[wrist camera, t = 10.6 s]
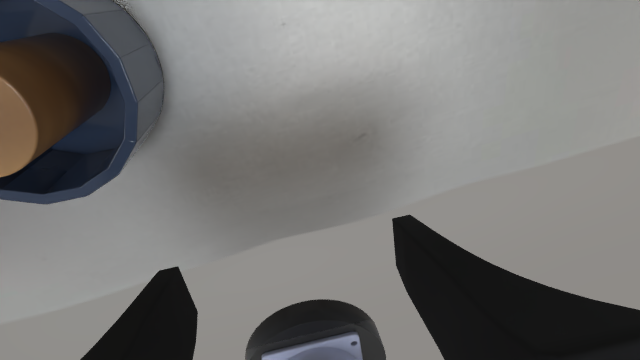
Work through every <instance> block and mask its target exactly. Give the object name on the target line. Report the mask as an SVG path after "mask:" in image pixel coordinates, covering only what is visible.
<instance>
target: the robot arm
mask: <svg viewBox="0 0 640 360" xmlns="http://www.w3.org/2000/svg"><path fill="white" fill-rule="evenodd" d="M392 221H393V233H394V245H395V256H396V266H397V269H398V271H399V274H400V276H401V279H402V281H403V284H404V286H405V288H406V291H407V293H408V295H409V296H410V298H411V300H412V302H413V304H414V305H415V307H416V309H417V311H418V312H419V314H420V316H421V318H422V319H423V321H424V323H425V325H426V327H427V328H428V330H429V332H430V334H431V336H432V337H433V339H434V341H435V343H436V344H437V346H438V348H439V350H440V352H441V354H442V356H443V357H444V359H445V360H640V310H636V309H632V308H627V307H623V306H619V305H614V304H610V303H605V302H601V301H596V300H593V299H589V298H585V297H581V296H578V295H575V294H571V293H568V292H564V291H561V290H558V289H555V288H552V287H548V286H546V285H543V284H540V283H537V282H535V281H532V280H529V279H526V278H524V277H521V276H519V275H516V274H514V273H511V272H509V271H507V270H504V269H502V268H500V267H498V266H495V265H493V264H491V263H489V262H487V261H485V260H483V259H481V258H479V257H477V256H475V255H474V254H472V253H470V252H468V251H466V250H464V249H463V248H461V247H459V246H457V245H456V244H454V243H452V242H451V241H449V240H448V239H446V238H444V237H443V236H441V235H440V234H438V233H436V232H435V231H433V230H432V229H430V228H429V227H427V226H426V225H424V224H423V223H421V222H420V221H418V220H417V219H415V218H414V217H412V216H411V215H406V216H402V217H397V218H393V219H392ZM197 314H198V313H197V309H196V307H195V305H194V302H193V300H192V298H191V295H190V293H189V291H188V288H187V286H186V284H185V281H184V279H183V277H182V274H181V272H180V270H179V267H173V268H169V269H165V270H160V271H159V272H158V273H157V274H156V275H155V276H154V277H153V278H152V279H151V281H150V282H149V283H148V284H147V286H146V287H145V288H144V289H143V291H142V292H141V293H140V294H139V295H138V296H137V298H136V299H135V300H134V301H133V302H132V304H131V305H130V306H129V307H128V308H127V310H126V311H125V312H124V313H123V314H122V315H121V317H120V318H119V319H118V320H117V321H116V322H115V324H113V326H112V327H111V328H110V329H109V330H108V331H107V332H106V333H105V334H104V335H103V337H102V338H101V339H100V340H99V341H98V342H97V343H96V344H95V345H94V346H93V348H91V349H90V350H89V352H88V353H87V354H86V355H85V356H84V357H83V358H82V359H81V360H192V359H193V354H194V349H195V343H196V332H197ZM353 341H354V342H353ZM262 360H363V358H362V352H361V345H360V339H359V335H358V333H357V332H354V331H352V332H348V333H344V334H339V335H335V336H331V337H327V338H323V339H319V340H314V341H310V342H306V343H302V344H298V345H294V346H290V347H285V348H281V349H277V350H273V351H269V352H265V353H264V354H262Z"/></svg>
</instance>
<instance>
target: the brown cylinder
mask: <svg viewBox="0 0 640 360" xmlns="http://www.w3.org/2000/svg"><path fill="white" fill-rule="evenodd" d="M110 89H111V84H110V77H109V74H108V71H107V68H106V66H105V64H104V63H103V61H102V60H101V58H100V57H99V56H98V55H97V54H96V53H95V52H94V51H93V50H92V49H91V48H90V47H89V46H88V45H86V44H85V43H83V42H82V41H80V40H78V39H76V38H73V37H71V36H68V35H64V34H58V33H47V34H41V35H35V36H30V37H25V38H20V39H14V40H9V41H4V42H0V177H4V176H8V175H11V174H13V173H15V172H17V171H19V170H21V169H22V168H24V167H25V166H26V165H28V164H29V163H30V162H32V161H33V160H34V159H36V158H37V157H38V156H40V155H41V154H42V153H44V152H45V151H46V150H48V149H49V148H50V147H52V146H53V145H54V144H56V143H57V142H58V141H60V140H61V139H62V138H64V137H65V136H66V135H68V134H69V133H70V132H72V131H73V130H74V129H76V128H77V127H78V126H80V125H81V124H82V123H84V122H85V121H86V120H88V119H89V118H90V117H92V116H93V115H94V114H96V113H97V112H98V111H100V110H101V109H102V108H103V107H104V105H105V104H106V102H107V100H108V98H109V95H110Z"/></svg>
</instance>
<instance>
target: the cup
mask: <svg viewBox="0 0 640 360" xmlns="http://www.w3.org/2000/svg"><path fill="white" fill-rule="evenodd" d="M47 33H58V34H64V35H68V36H71V37H73V38H76V39H78V40H80V41H82V42H83V43H85V44H86V45H88V46H89V47H90V48H91V49H92V50H93V51H94V52H95V53H96V54H97V55H98V56H99V57H100V58H101V60H102V61H103V63H104V64H105V66H106V68H107V71H108V74H109V77H110V84H111V89H110V95H109V98H108V100H107V102H106V104H105V105H104V107H103V108H102V109H101V110H100V111H98V112H97V113H96V114H94V115H93V116H92V117H90V118H89V119H88V120H86V121H85V122H84V123H82V124H81V125H80V126H78V127H77V128H76V129H74V130H73V131H72V132H70V133H69V134H68V135H66V136H65V137H64V138H62V139H61V140H60V141H58V142H57V143H56V144H54V145H53V146H52V147H50V148H49V149H48V150H46V151H45V152H44V153H42V154H41V155H40V156H38V157H37V158H36V159H34V160H33V161H32V162H30V163H29V164H28V165H26V166H25V167H24V168H22V169H21V170H19V171H17V172H15V173H13V174H11V175H8V176H4V177H0V199H1V200H10V201H19V202H28V203H37V204H51V203H56V202H61V201H66V200H71V199H75V198H80V197H85V196H87V195H90V194H91V193H93V192H94V191H96V190H97V189H99V188H100V187H102V186H103V185H105V184H106V183H108V182H109V181H111V180H112V179H114V178H115V177H116V176H118V175H119V174H120V173H121V171H122V170H123V169H124V167H125V166H126V165H127V163H128V162H129V161H130V159H131V158H132V157H133V155H134V154H135V153H136V151H137V150H138V149H139V147H140V146H141V145H142V144H143V142H144V141H145V140H146V138H147V136H148V135H149V133H150V131H151V129H152V128H153V126H154V125H155V123H156V121H157V119H158V117H159V115H160V112H161V108H162V105H163V98H164V80H163V73H162V69H161V65H160V62H159V59H158V56H157V54H156V52H155V49H154V47H153V45H152V44H151V42H150V40H149V38H148V37H147V35H146V34H145V33H144V31H143V30H142V28H141V27H140V26H139V25H138V24H137V22H136V21H135V20H134V19H133V18H132V17H131V16H130V15H129V14H128V13H127V12H126V11H125V10H124V9H122V8H121V7H120V6H119V5H118V4H116V3H115V2H113V1H112V0H0V42H4V41H9V40H14V39H20V38H25V37H30V36H35V35H41V34H47Z"/></svg>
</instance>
